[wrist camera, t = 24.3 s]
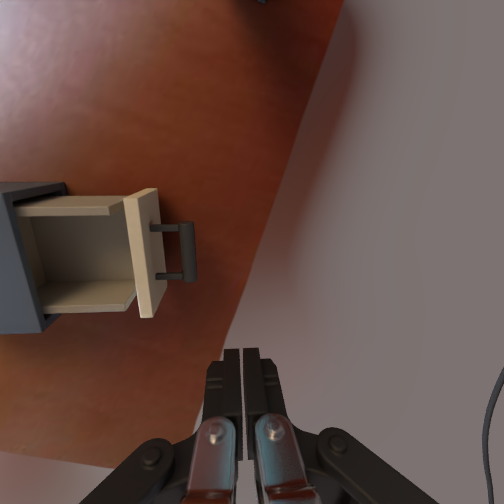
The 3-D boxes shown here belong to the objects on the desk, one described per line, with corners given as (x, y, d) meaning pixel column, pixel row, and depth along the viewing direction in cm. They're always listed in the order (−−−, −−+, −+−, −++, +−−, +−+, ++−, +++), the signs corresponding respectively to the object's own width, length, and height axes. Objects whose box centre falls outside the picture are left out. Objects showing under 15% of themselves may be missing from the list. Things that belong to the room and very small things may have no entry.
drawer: (196, 188, 30) (188, 197, 24) (202, 285, 34) (196, 316, 27) (21, 188, 29) (-38, 199, 22) (48, 289, 32) (3, 323, 26)
